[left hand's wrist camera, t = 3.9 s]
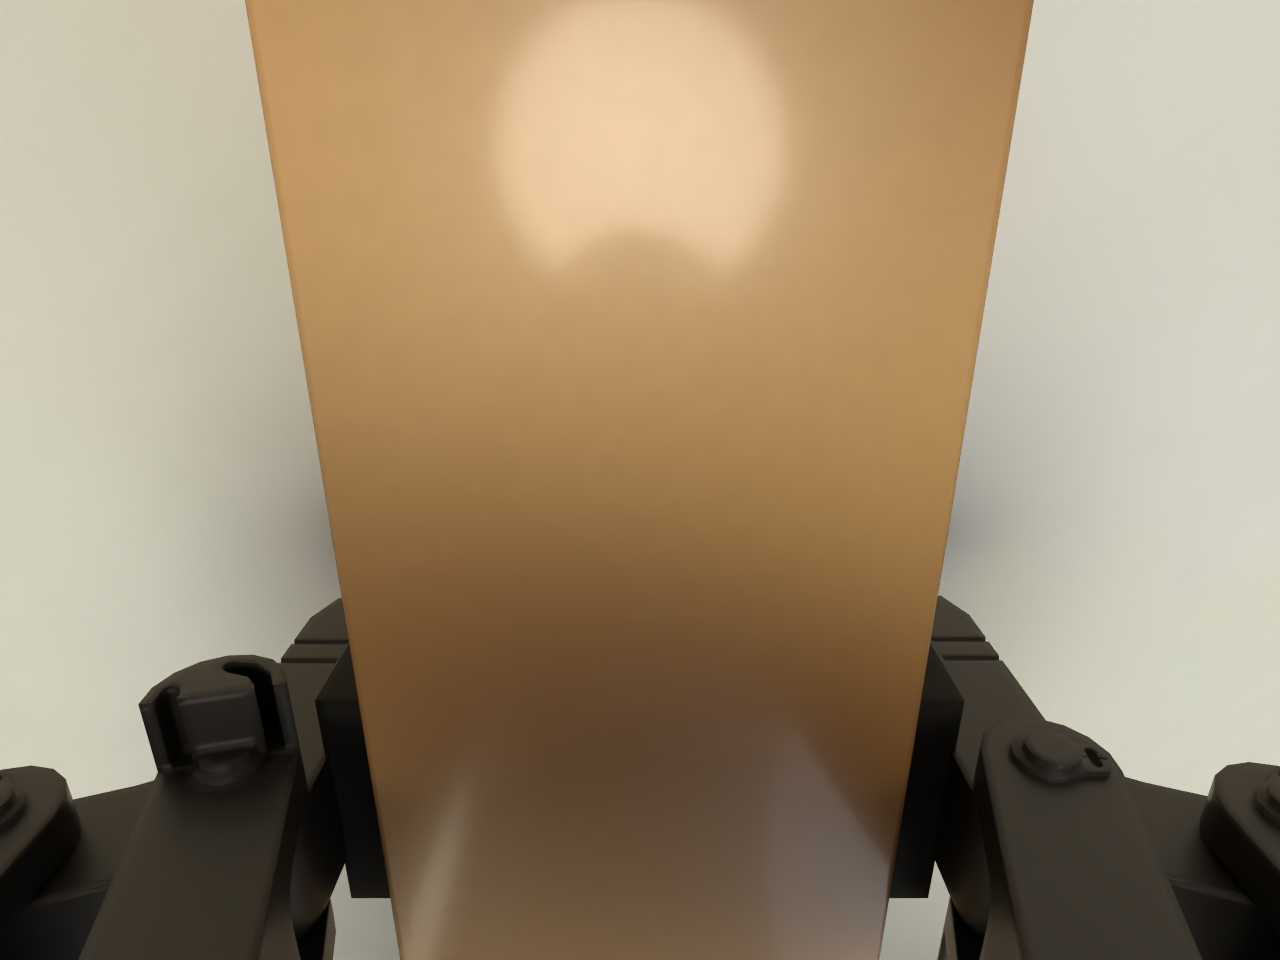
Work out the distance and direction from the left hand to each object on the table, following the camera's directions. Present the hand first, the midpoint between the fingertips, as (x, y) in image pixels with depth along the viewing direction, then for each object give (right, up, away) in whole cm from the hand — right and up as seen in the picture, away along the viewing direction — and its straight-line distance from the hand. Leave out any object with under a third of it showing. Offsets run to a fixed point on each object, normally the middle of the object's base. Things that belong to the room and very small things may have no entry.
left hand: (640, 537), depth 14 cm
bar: (0, +31, -12) cm, 33 cm away
